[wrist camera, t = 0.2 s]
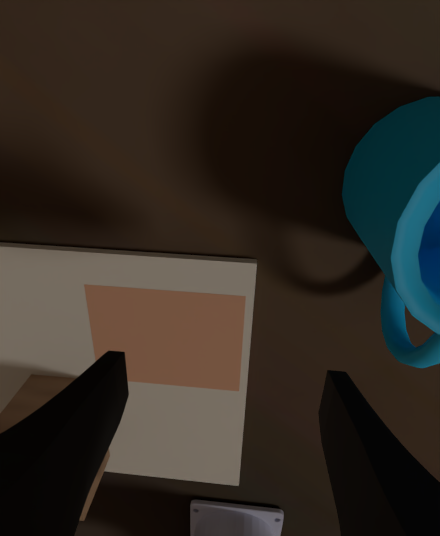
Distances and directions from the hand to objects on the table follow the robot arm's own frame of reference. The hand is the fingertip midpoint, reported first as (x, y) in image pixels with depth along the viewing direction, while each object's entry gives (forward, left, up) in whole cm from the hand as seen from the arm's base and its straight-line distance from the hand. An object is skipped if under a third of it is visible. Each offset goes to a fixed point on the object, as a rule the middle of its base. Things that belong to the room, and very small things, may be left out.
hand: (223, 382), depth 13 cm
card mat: (-10, +8, -10) cm, 16 cm away
